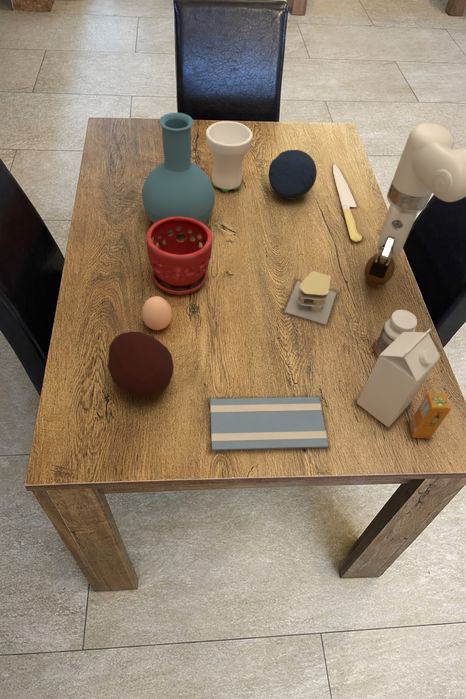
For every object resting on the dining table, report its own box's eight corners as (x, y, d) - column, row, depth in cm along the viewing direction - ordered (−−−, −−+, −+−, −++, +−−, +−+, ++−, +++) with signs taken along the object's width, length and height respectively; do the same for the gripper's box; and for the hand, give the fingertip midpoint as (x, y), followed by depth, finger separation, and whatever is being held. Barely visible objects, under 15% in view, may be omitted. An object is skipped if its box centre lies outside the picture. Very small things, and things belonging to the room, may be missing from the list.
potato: (134, 422, 87) (128, 390, 79) (99, 370, 93) (89, 335, 85) (188, 392, 92) (187, 358, 83) (151, 344, 98) (147, 309, 90)
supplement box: (425, 422, 91) (447, 392, 83) (429, 439, 89) (452, 410, 81) (407, 421, 91) (427, 391, 83) (411, 438, 89) (432, 409, 81)
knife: (344, 162, 139) (329, 159, 138) (369, 241, 119) (352, 238, 118) (342, 167, 140) (327, 163, 139) (367, 245, 120) (350, 242, 119)
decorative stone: (271, 176, 134) (276, 141, 126) (315, 185, 133) (323, 151, 125) (261, 201, 127) (265, 166, 119) (307, 212, 126) (315, 177, 118)
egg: (144, 338, 99) (141, 312, 93) (142, 316, 102) (138, 290, 96) (174, 334, 100) (172, 309, 94) (170, 313, 103) (169, 287, 97)
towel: (318, 398, 93) (319, 396, 92) (327, 447, 87) (328, 446, 86) (210, 400, 91) (210, 398, 90) (211, 450, 85) (211, 449, 84)
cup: (198, 176, 132) (199, 124, 121) (237, 168, 136) (241, 117, 124) (214, 201, 126) (216, 149, 115) (254, 192, 129) (260, 141, 118)
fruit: (374, 269, 115) (384, 242, 108) (394, 286, 112) (406, 259, 105) (354, 279, 112) (364, 252, 106) (374, 296, 109) (385, 269, 103)
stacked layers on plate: (297, 280, 111) (301, 262, 106) (336, 292, 109) (342, 274, 105) (284, 312, 105) (288, 294, 101) (326, 324, 104) (331, 307, 99)
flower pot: (211, 300, 106) (213, 257, 96) (148, 300, 105) (144, 257, 95) (210, 257, 114) (211, 214, 104) (151, 257, 113) (147, 213, 103)
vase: (136, 207, 123) (124, 106, 103) (199, 194, 128) (200, 95, 108) (157, 251, 114) (149, 149, 94) (224, 235, 119) (230, 135, 99)
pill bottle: (388, 336, 103) (404, 303, 95) (408, 354, 100) (427, 322, 92) (368, 347, 101) (382, 315, 93) (388, 367, 98) (405, 335, 90)
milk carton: (355, 403, 92) (386, 339, 77) (377, 381, 96) (411, 315, 81) (387, 428, 90) (426, 367, 74) (409, 404, 93) (450, 341, 78)
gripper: (420, 226, 88) (389, 293, 101) (436, 174, 98) (406, 242, 111) (378, 213, 89) (354, 281, 103) (399, 163, 99) (373, 231, 113)
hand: (381, 261), depth 107 cm, fingers open, 9 cm apart
